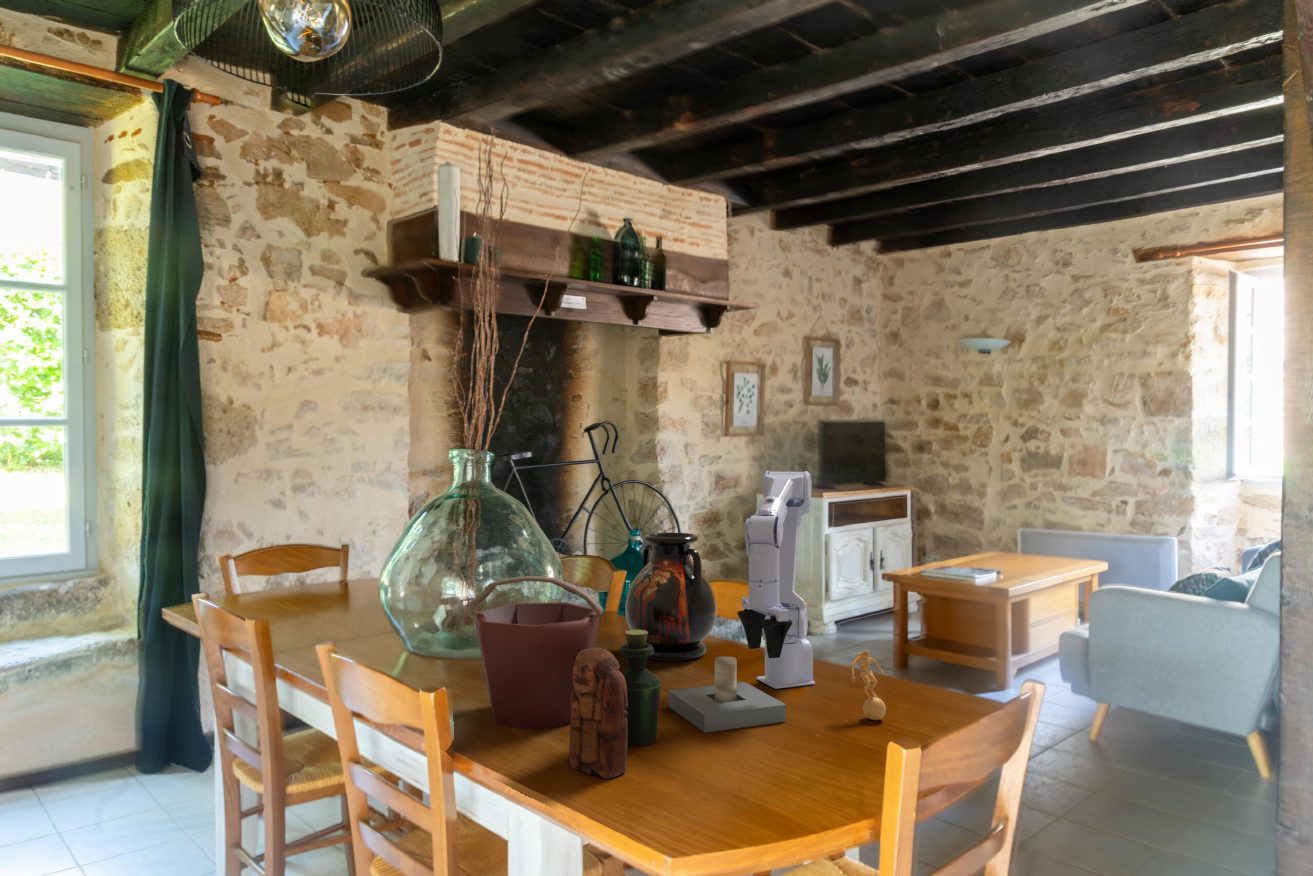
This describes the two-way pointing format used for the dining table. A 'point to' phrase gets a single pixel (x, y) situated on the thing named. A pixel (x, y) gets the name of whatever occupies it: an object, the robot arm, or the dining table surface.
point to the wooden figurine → (598, 715)
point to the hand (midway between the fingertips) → (764, 652)
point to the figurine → (872, 705)
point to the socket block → (726, 708)
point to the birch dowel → (725, 679)
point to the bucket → (533, 654)
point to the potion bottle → (640, 690)
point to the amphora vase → (672, 598)
